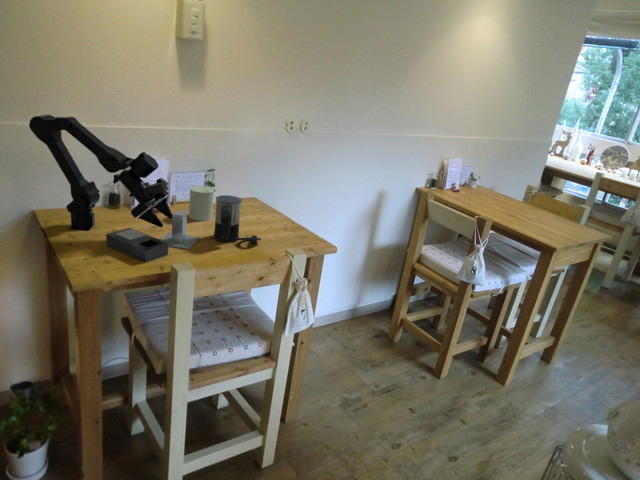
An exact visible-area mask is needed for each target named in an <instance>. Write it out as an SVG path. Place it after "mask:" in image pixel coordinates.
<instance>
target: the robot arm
mask: <svg viewBox="0 0 640 480" xmlns="http://www.w3.org/2000/svg"><path fill="white" fill-rule="evenodd" d="M28 126H29V129H30V131H31V132H32V134H34V135H35V137H36V138H37V139H38V140H39V141H40V142H42V143H43V144H45V145H46V147H47V148H48V150H49V151H50V153H51V155H52V156H53V158H54V159H55V162H56V164H57V165H58V167H59V168H60V170H61V172H62V173H63V175H64V177H65V179H66V180H67V183H69V185H70V196H71V198H72V201H70V202H69V203H68V204H66V210H67V212H68V213H70V221H71V223H70V226H69V229H71V230H82V231H83V230H84V231H90V230H91V229H92V228H93V227H94V226H95V225H96V219H95V212H94V209H93V208H95V206H96V205H97V203H98V202H99V201H100V198H101V196H100V190H99V189H98V188H97V185H96V183H95V182H94V181H93V180H92V181H90V182H89V180H87V179H85V177H84V175H83V174H82V172H81V171H80V169H79V166H78V165H77V163H76V162H75V160H74V158H73V156H72V155H71V153H70V151H69V149H68V148H67V146H66V144H65V143H64V141H63V137H62V131H66V133H68V134H69V135H71V137H73V138H75V140H77V141H78V142H79V143H80V144H81V145H83V146H84V147H85V148H86V149H87V150H89V151H90V152H91V153H92V154H93V155H94V156H95V157H96V159H97V161H98V163H99V164H100V165H101V166H102V167H103V169H104V170H105V171H106V172H108V173H111V174H113V182H112V183H113V184H117V183H119V182H120V183H121V184H122V185H123V186H124V188H125V189H126V190H127V191H128V192H129V193H130V194H128V196H129V198H134V199H135V201H137V202H138V204H137V205H136V206H135V207H133V208H132V209H131V210H130V215H131V216H132V218H134V219H136V218H137V219H138V220H142V221H145V222H147V223H150V224H152V225H154V226H156V227H158V228H161V229H162V228H163V226H164V224H163V222H162V221H161V220H160V218H159V217H158V216H157V214H156V213H155V210H157V211H158V212H160V213H161V214H162V215H163V216H165V217H166V218H167V219H170V220H172V214H173V213H172V211H171V208H170V206H169V204H168V199H169V194H170V193H169V192H168V190H169V187H168V185H169V182H168V181H167V180H165V179H164V178H163V177H160V178H158V179H156V182H155V183H152V184H150V182H148V181H146V182H145V181H144V180H143V179H146V178H147V177H149V176H150V175H151V174H152V173H154V172H155V171H156V170H157V169H159V164H158V161H157V160H156V159H155V158H154V157H152V156H151V155H149V154H147V153H146V152H145V151H142V152H140V153H139V154H138V155H137V156H136V157H135V158H132V157H128V156H127V155H125V153H124V152H123V153H122V152H121V151H120V150H118V149H116V148H114V147H111V146H109V145H107V144H105V143H104V142H103V141H102V140H101V139H100V138H98V137H97V136H96V135H95V134H93V133H92V132H91V131H90V130H89V129H88V128H87V127H85V126H84V125H82V123H80V122H79V120H78V119H77V118H76V117H74V116H66V117H64V116H57V117H56V116H54V115H52V114H43V115H37V116H33V117H31V119H29V123H28ZM120 171H121V172H120ZM118 172H120V173H118ZM114 173H115V174H114ZM151 206H152V207H151Z"/></svg>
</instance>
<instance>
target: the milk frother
mask: <svg viewBox="0 0 640 480" xmlns="http://www.w3.org/2000/svg"><path fill="white" fill-rule="evenodd" d="M215 199H216V202H215V203H216V204H215V217H214V218H215V220H214V232H213V235H212V236H213V239H214V240H216V241H219V242H224V243H232V242H237V241H251V243H253V242H254V243H258V241H261V240H262V237H258V236H257V235H254V234H253V235H251V237H240V234H239V233H240V219H241V208H242V207H241V205H242V202H243V200H242V199H243V198H241V197H239V196H234V195H227V194H226V195H225V194H224V195H218V196H215Z"/></svg>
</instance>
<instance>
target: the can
mask: <svg viewBox="0 0 640 480" xmlns="http://www.w3.org/2000/svg"><path fill="white" fill-rule="evenodd" d="M214 193H215V189H214V188H212V187H209V186H204V185H195V186H191V187H190V188H189V211H188V218H189V219H190V220H192V221H199V222H207V221H211V220H212V219H213V211H214V210H213V208H214Z"/></svg>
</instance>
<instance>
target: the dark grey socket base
mask: <svg viewBox="0 0 640 480" xmlns="http://www.w3.org/2000/svg"><path fill="white" fill-rule="evenodd" d="M105 237H106V238H105V242H106V247H109V248H111V249H113V250H116V251H118V252H120V253H122V254H125V255H127V256H129V257H132V258H134V259H137V260H139V261H141V262H143V263H145V264H146V263H148V262H152V261H155V260H157V259H161V258H163V257H166V256H168V255H169V246H168V243H166V242H164V241H161V240H162V239H158V238H156V237H154V236H151V235H148V234H146V233H144V232H141V231H139V230H136V229H134V228H131V227H127V228H124V229H120V230H115V231H112V232H108V233H106V234H105Z"/></svg>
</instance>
